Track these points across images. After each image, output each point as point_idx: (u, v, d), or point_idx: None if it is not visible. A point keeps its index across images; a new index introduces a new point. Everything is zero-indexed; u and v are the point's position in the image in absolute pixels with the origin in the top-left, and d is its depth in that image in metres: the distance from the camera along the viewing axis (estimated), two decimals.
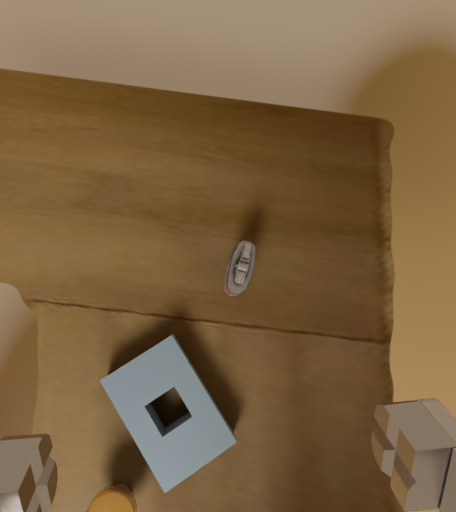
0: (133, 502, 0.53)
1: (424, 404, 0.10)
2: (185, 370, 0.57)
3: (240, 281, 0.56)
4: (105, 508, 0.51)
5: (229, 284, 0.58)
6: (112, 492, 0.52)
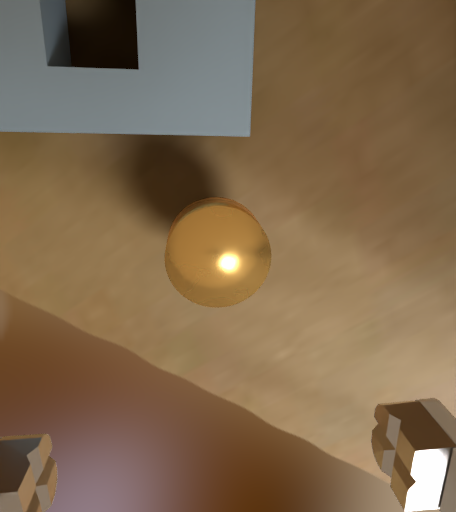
0: (223, 200, 0.24)
1: (423, 403, 0.10)
2: None
3: None
4: (192, 253, 0.23)
5: None
6: (175, 225, 0.23)
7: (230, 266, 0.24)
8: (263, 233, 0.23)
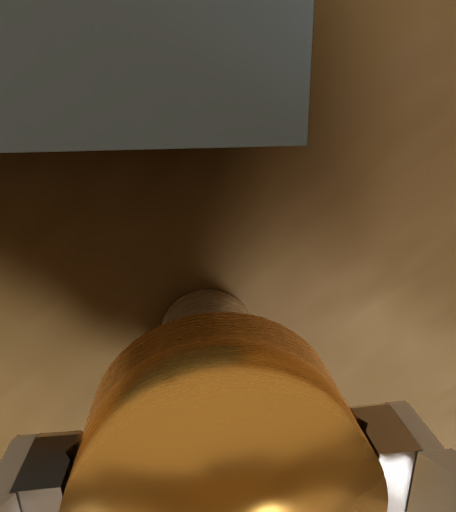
0: (233, 334, 0.08)
1: (392, 407, 0.09)
2: None
3: None
4: None
5: None
6: (89, 434, 0.07)
7: None
8: (369, 454, 0.07)
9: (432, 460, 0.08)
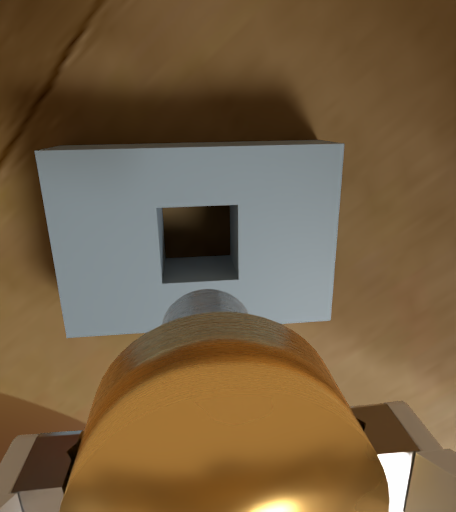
0: (234, 333, 0.08)
1: (391, 406, 0.09)
2: (135, 166, 0.23)
3: None
4: None
5: None
6: (89, 434, 0.07)
7: None
8: (370, 454, 0.07)
9: (430, 460, 0.08)
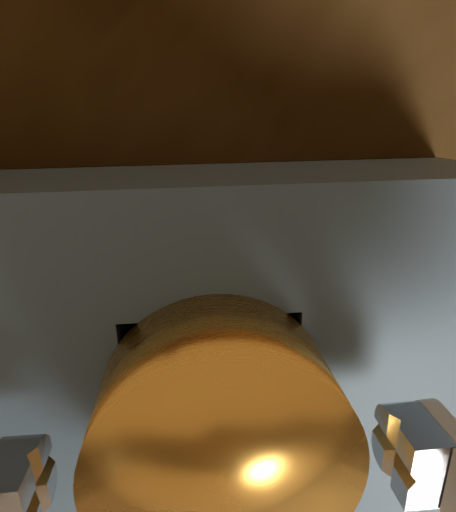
0: (231, 311, 0.09)
1: (423, 404, 0.10)
2: (59, 234, 0.09)
3: None
4: (152, 480, 0.08)
5: None
6: (102, 399, 0.08)
7: (260, 499, 0.09)
8: (351, 415, 0.08)
9: None
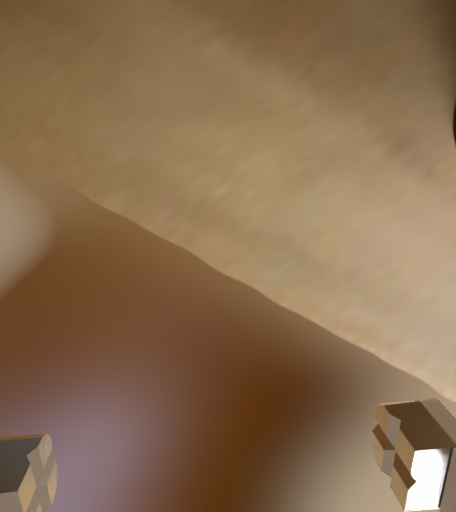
0: None
1: (424, 404, 0.10)
2: None
3: None
4: None
5: None
6: None
7: None
8: None
9: None
